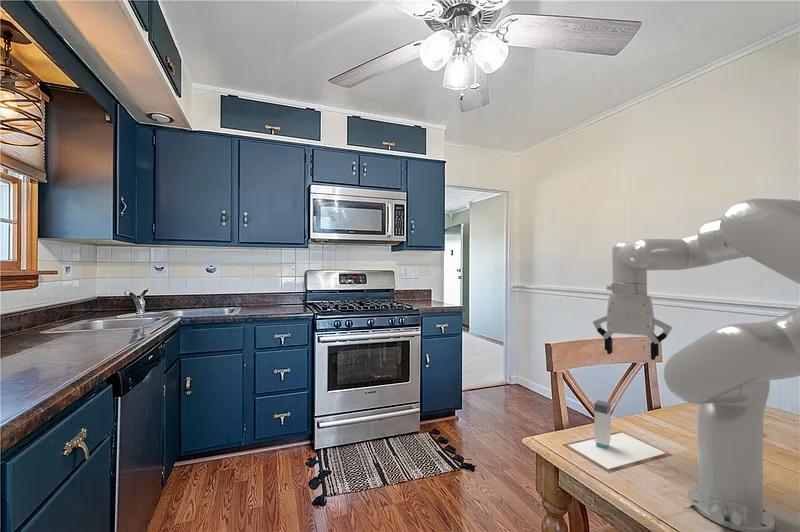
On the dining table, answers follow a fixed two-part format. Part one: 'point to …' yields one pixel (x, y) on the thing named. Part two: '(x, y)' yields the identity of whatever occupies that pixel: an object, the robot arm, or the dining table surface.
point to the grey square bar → (602, 424)
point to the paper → (617, 451)
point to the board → (620, 466)
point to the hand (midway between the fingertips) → (630, 356)
